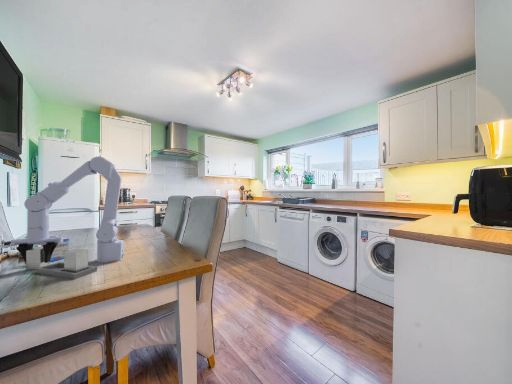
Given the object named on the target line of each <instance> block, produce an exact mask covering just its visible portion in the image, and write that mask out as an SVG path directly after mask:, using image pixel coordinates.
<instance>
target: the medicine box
mask: <svg viewBox="0 0 512 384" xmlns="http://www.w3.org/2000/svg"><path fill="white" fill-rule="evenodd" d="M45 244H47V243H43V244H40V247H42V246H43V245H45ZM69 245H70V238H68V237H63V242H61V243H58V245H57V246H56V248H55V249H54V251H53V253H52V256H51V259H50V261H49V264H50V263H54V262H56V261H60V260H64V253H65V251H69V250H70V246H69Z"/></svg>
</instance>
